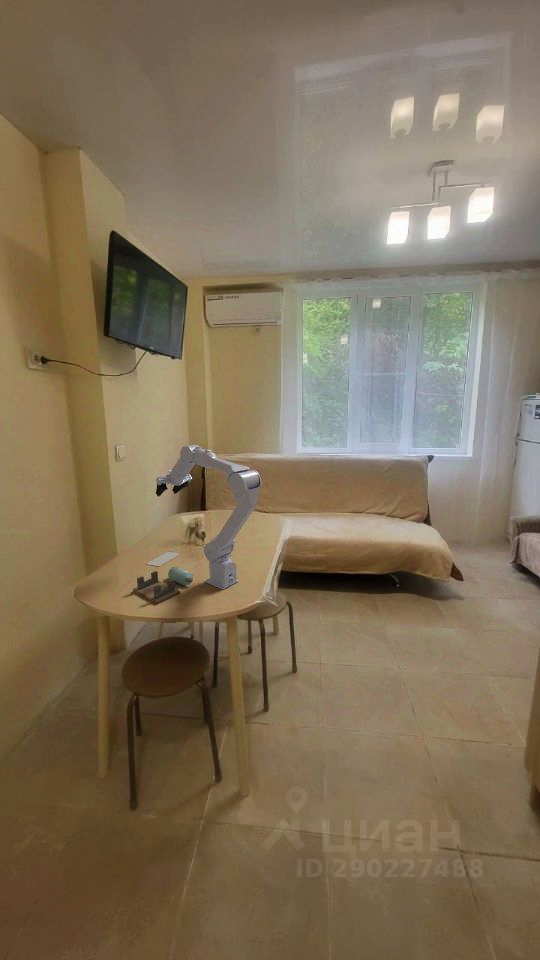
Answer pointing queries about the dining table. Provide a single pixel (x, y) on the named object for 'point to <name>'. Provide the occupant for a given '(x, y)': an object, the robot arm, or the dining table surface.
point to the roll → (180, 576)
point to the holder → (156, 589)
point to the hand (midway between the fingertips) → (165, 493)
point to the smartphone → (163, 559)
